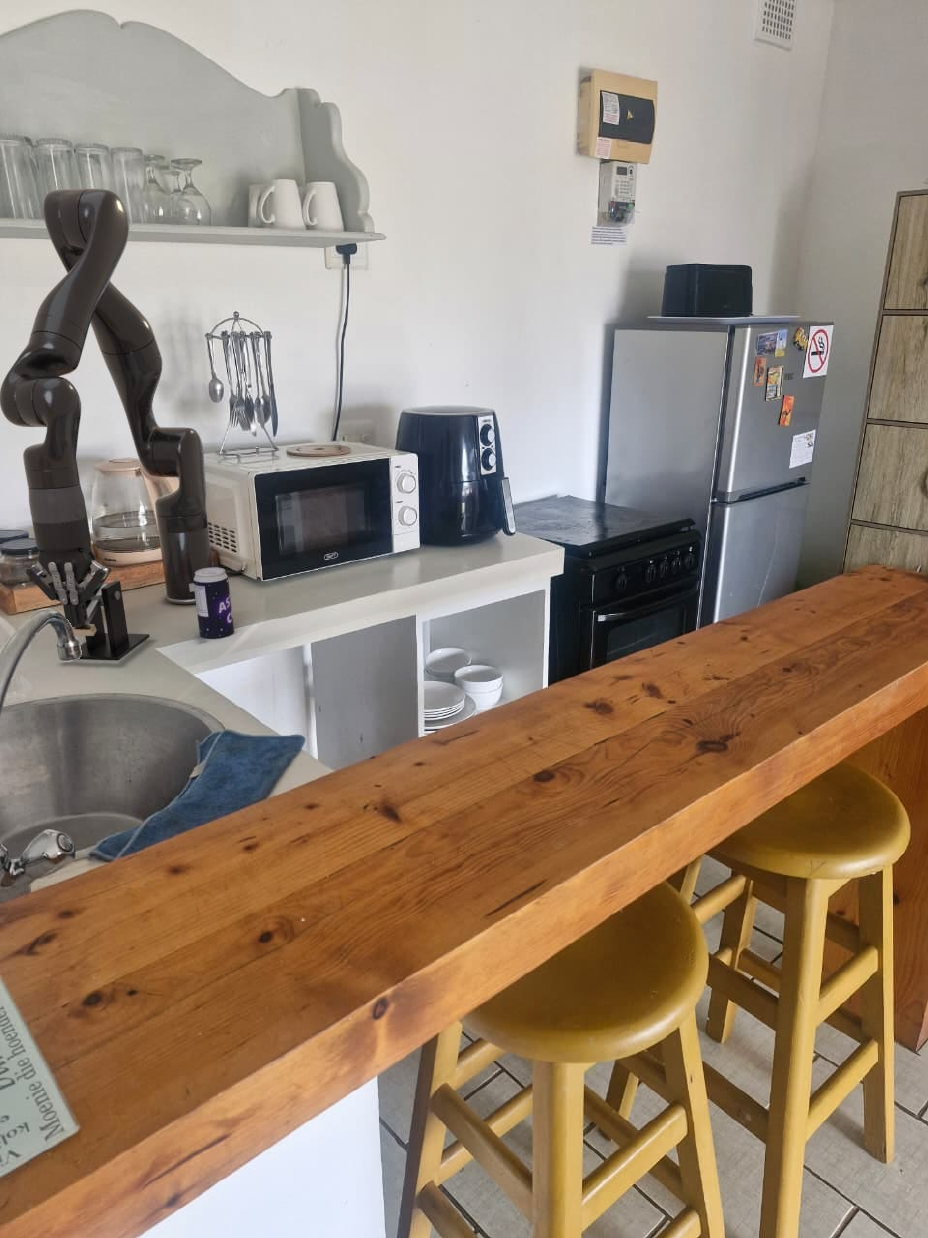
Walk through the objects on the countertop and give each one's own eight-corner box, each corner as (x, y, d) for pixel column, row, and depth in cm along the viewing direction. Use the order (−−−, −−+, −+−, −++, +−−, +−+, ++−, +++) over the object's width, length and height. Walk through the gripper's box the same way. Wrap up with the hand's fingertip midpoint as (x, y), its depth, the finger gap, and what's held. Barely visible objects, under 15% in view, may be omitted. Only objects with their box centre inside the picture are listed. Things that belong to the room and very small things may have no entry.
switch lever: (94, 638, 135) (89, 627, 133) (67, 637, 136) (61, 626, 134) (119, 594, 142) (114, 584, 141) (93, 594, 143) (88, 583, 141)
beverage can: (225, 644, 147) (217, 576, 143) (194, 643, 148) (186, 575, 144) (240, 633, 152) (233, 567, 148) (210, 631, 153) (202, 566, 149)
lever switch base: (119, 665, 138) (108, 595, 134) (65, 664, 139) (53, 593, 135) (150, 641, 149) (141, 575, 145) (100, 640, 150) (90, 574, 146)
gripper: (114, 510, 132) (129, 619, 137) (32, 509, 133) (51, 617, 139) (88, 521, 124) (106, 635, 130) (2, 520, 126) (23, 632, 132)
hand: (77, 625), depth 134 cm, fingers closed
